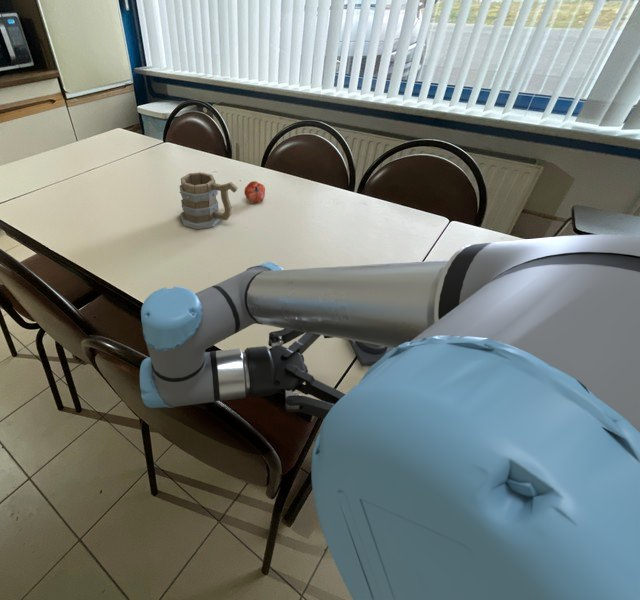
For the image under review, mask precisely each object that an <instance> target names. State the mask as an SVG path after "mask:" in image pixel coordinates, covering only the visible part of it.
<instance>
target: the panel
mask: <svg viewBox="0 0 640 600" xmlns="http://www.w3.org/2000/svg"><path fill="white" fill-rule="evenodd" d="M348 341H349V343H350V345H351V346H352V349H353V351H354V353H355V356H356V357H357V360H358V362H359V363H360V364H359V365H360V366H361V367H367V366H372V365H373V364H375V363H376V362H377V361H379V360H380V359H381V358H382V357H383V356H384V355H385V354H387V353H388V352H390V351H391V350H393V349H394V348H392V347H386V346H380V345H374V344H369V343H364V342H358V341H352V340H348Z"/></svg>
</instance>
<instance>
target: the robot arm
mask: <svg viewBox="0 0 640 600" xmlns="http://www.w3.org/2000/svg"><path fill="white" fill-rule="evenodd" d="M140 316H141V317H140V321H141V327H142V336H143V340H144V341H145V344H146V348H147V351H148V354H149V357H146V358H144V359H143V360H142V361H141V364H140V368H139V388H140V395H141V400H142V403H143V405H144V406H146V407H147V408H150V409H156V408H157V409H158V408H170V409H172V408H173V409H174V408H177V407H183V406H184V407H185V406H192V405H199V404H200V405H201V404H208V403H214V402H223V401H232V400H240V399H245V398H246V397H247V395H248V396H249V397H251V398H260V397H261V398H263V397H269V396H273V395H276V394H281V395H282V394H283V395H284V400H285V403H284V411H285V412H287V413H302V414H306V415H308V416H312V417H315V418H319V419H322V420H323V421H322V423H321V426H320V431H319V433H318V434H317V436H316V439H315V442H314V445H313V448H312V453H311V466H310V467H311V469H310V473H311V475H310V476H311V488H312V494H313V495H312V496H313V500H314V506H315V510H316V514H317V517H318V521H319V524H320V528H321V531H322V534H323V538H324V539H325V543H326V546H327V548H328V551H329V553H330V556H331V558H332V560H333V562H334V565H335V566H336V569H337V571H338V572H339V575H340V577H341V579H342V582H343V584H344V586H345V588H346V589H347V591H348V593H349V595H350V598H351V599H352V600H640V236H635V235H628V234H627V235H626V234H605V233H604V234H603V233H602V234H577V235H576V234H575V235H560V236H559V235H558V236H549V237H548V236H547V237H538V238H529V239H528V238H527V239H517V240H507V241H496V242H484V243H474V244H469V245H465V246H463V247H461V248H459V249H458V250H457V251H456V252H455V253H453V255H452V256H450V258H449V259H445V260H428V261H427V260H425V261H411V262H410V261H409V262H408V261H407V262H393V263H380V264H379V263H378V264H377V263H375V264H374V263H373V264H359V265H343V266H341V265H340V266H325V267H309V268H292V269H284V268H283V267H282V266H279V265H277V264H276V263H275V262H272V261H268V262H263V263H260V264H258V265H253V266H250V267H248V268H247V269H245V270H244V271H242V272H240V273H238V274H236V275H233V276H232V277H229V278H227V279H225V280H223V281H220V282H219V283H216V284H214V285H211V286H208V287H206V288H204V289H202V290H200V291H198V292H194V291H192V290H191V289H189V288H186V287H183V286H174V287H172V288H167V287H163V288H159V289H157V290H155V291H153V292H152V293H150V294H149V295H148V297H146V298H145V300H144V301H143V303H142V305H141V309H140ZM254 324H255V325H262V326H268V327H275V328H280V330H275V331H274V330H273V331H270V332H269V333H268V343H267V345H268V346H269V347H268V346H266V345H262V346H251V347H246V348H245V349H244V351H242V349H241V348H231V349H230V348H229V349H220V350H210V351H206V350H207V349H210V348H211V347H213V346H215V345H216V344H219V343H221V342H222V341H224V340H226V339H228V338H229V337H232V336H234V335H235V334H237V333H239V332H241V331H242V330H245V329H246V328H248V327H250V326H253V325H254ZM321 336H323V338H324V339H333V338H337V339H342V340H348V341H349V340H352V341H358V342H364V343H369V344H375V345H380V346H386V347H392V348H393V350H391V351H390V352H388V353H387V354H385V355H384V356H383V357H382V358H381V359H380V360H379V361H377V362H376V363H375V364H373V365H370V367H369V368H368V370H367V371H366V372H365V373H364V375H363V376H362V378H361V380H360V381H359V382H358V383H357V384H356V385H355V386H353V387H352V388H351V389H350V390H349V391H348V392H347V393H344V392H342V391H340V390H338V389H336V388H335V387H333V386H331V385H328V384H326V383H324V382H322V381H320V380H317V379H316V378H315V377H314V376H313V375H312V374H310V373H309V370H308V366H307V365H306V363H305V357H304V355H303V354H304V353H305V352H306V350H308V349H309V347H311V346H312V345H313V344H314V342H316V341H317V340H318V339H319V338H320V337H321ZM299 337H300V338H299ZM297 338H298V340H295V339H297ZM293 340H295V341H293ZM291 341H293V343H291V344H290V346H288V347H286V346H284V345H285V344H288V343H290V342H291ZM295 391H298V392H299V393H302V394H304V395H300V394H299V393H298V392H295ZM308 395H310V396H308ZM311 396H312V397H311ZM313 397H314V398H313Z"/></svg>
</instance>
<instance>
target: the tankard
mask: <svg viewBox="0 0 640 600" xmlns="http://www.w3.org/2000/svg"><path fill="white" fill-rule="evenodd" d="M238 189H239V187H238V186H236V185H235V184H234V183H233V182H232V181H230V182H227V183H223V184H221V183H220V184H219V183H216V179H215V177H214V175H213V174H210V173H206V172H200V171H199V172H190V173H187V174H185V175H184V176H182V177H181V178H180V185H179V193H180V196H181V201H180V202H181V208H182V212H181V213H180V219H181V222H182V225H183V226H185V227H187V228H192V229H195V230H203V229H210V228H214V226H216V225H217V224H218V223H219V222H221V221H228V220H229V219H230V217H231V215H232V209H233V207H232V203H231V201H230V199H229V190H230V191H231V192H232V193H236V192H237V190H238ZM219 192H220V198H221V202H222V205H223V208H224V212H221V211H219V201H218V199H217V196H218V195H219Z"/></svg>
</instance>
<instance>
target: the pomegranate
mask: <svg viewBox="0 0 640 600" xmlns="http://www.w3.org/2000/svg"><path fill="white" fill-rule="evenodd" d="M243 192H244V196H245V199H246V200H247V201H248V202H250V203H252V204H253V203H261V202H263V201H264V200H265V197H266V187H265V185H264V184H262V183H260V182H258V181H256V180H254V181H253V180H252V181H250V182H249V183H248V184H247V185H246V186H245V188H244V191H243Z"/></svg>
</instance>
